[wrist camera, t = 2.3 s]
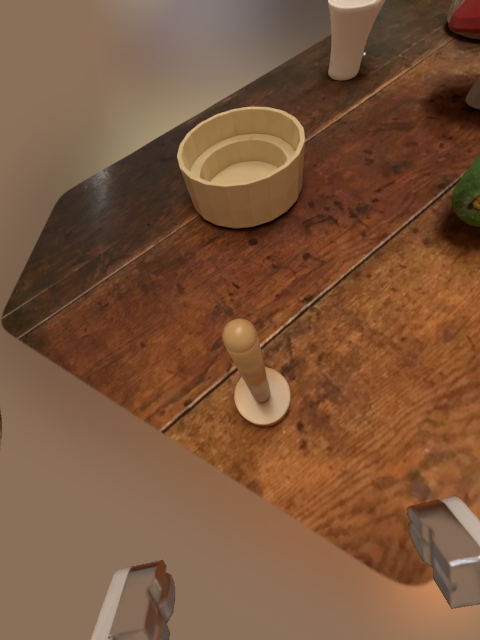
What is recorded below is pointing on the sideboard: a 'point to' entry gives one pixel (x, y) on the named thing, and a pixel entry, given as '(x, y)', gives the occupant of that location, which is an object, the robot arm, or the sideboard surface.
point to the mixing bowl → (244, 165)
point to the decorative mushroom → (468, 19)
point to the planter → (454, 6)
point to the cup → (350, 34)
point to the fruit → (468, 195)
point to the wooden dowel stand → (255, 377)
